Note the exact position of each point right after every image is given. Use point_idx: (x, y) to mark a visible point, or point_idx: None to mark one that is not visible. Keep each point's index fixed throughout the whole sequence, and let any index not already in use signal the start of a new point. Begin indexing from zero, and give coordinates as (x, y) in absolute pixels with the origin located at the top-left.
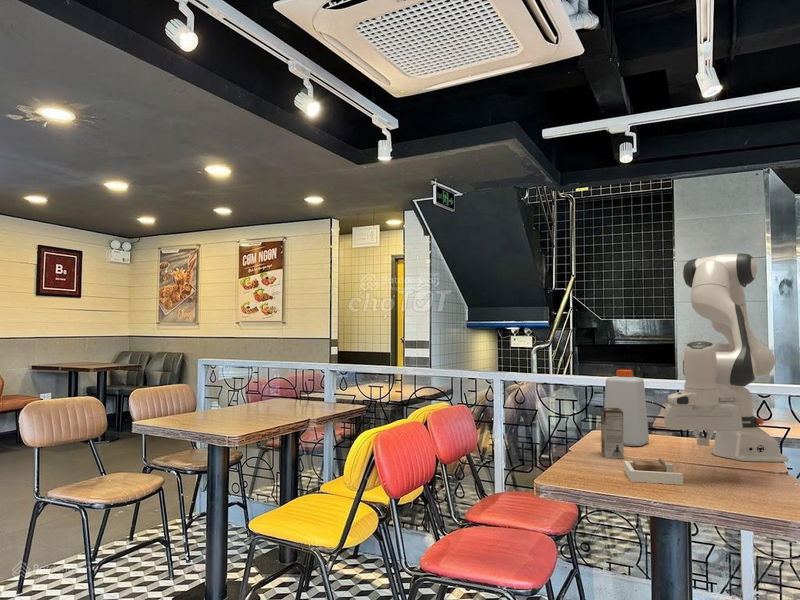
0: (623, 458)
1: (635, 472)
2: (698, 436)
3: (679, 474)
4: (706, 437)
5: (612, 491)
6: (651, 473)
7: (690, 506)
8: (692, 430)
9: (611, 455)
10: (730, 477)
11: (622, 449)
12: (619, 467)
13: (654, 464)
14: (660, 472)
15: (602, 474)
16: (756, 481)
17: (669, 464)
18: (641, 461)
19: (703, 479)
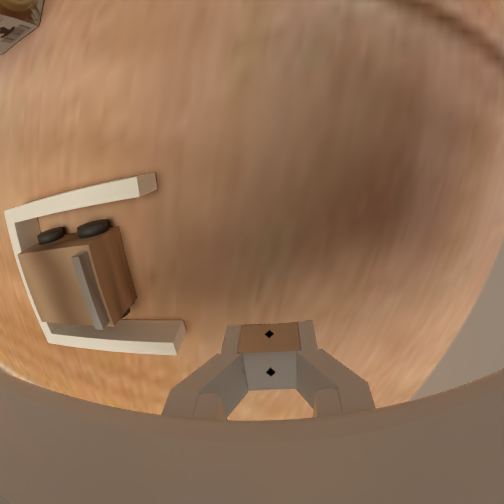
0: (38, 24)
1: (58, 342)
2: (225, 412)
3: (166, 354)
4: (304, 369)
5: (68, 395)
6: (91, 346)
7: None
8: (165, 405)
9: (7, 44)
10: (387, 151)
11: (16, 21)
12: (15, 156)
13: (77, 309)
14: (110, 347)
15: (5, 269)
16: (451, 194)
17: (124, 196)
18: (37, 271)
19: (269, 224)
